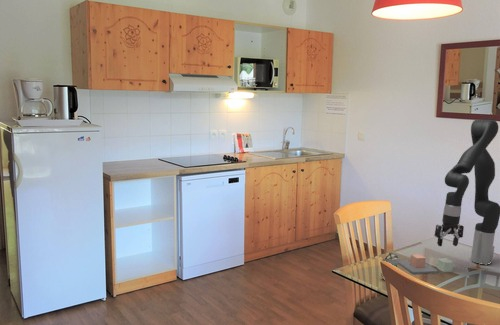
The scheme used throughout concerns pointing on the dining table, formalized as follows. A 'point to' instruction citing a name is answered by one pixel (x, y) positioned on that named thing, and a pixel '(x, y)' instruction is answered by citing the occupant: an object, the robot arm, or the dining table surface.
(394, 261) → the food container
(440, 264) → the sage brick
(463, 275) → the dining table surface
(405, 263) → the baseplate
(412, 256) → the terracotta brick
